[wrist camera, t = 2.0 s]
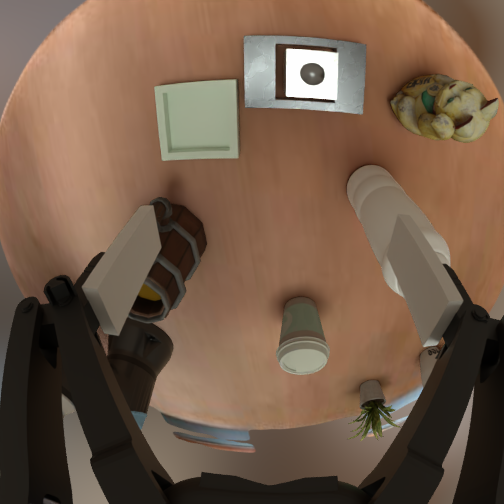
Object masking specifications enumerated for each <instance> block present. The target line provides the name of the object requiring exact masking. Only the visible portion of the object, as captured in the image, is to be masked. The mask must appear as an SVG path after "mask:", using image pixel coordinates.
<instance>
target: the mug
mask: <svg viewBox="0 0 504 504" xmlns="http://www.w3.org/2000/svg"><path fill="white" fill-rule="evenodd" d="M150 205H153V206H154V212H155V217H156V223H157V228H158V233H159V238H160V243H161V249H160V251H159V253H158V255H157V257H156V259H155V261H154V263H153V265H152V267H151V269H150V271H149V273H148V275H147V277H146V279H145V281H144V283H143V285H142V287H141V289H140V291H139V293H138V295H137V297H136V299H135V301H134V304H133V306H132V308H131V310H130V312H129V314H128V317H129V318H131V319H133V320H137V321H140V322H144V323H153V322H157V321H161V320H163V319H164V318H166V317H167V315H168V313H169V311H170V310H171V309H175V308H177V307H178V305H179V303H180V302H181V300H182V298H183V297H184V295H185V293H186V288H185V285H184V282H185V281H186V280H189V279H191V277H192V275H193V274H194V272H195V270H196V269H197V267H198V265H199V264H200V261H201V260H200V257H201V256H202V254H203V252H204V251H205V248H206V245H207V242H206V238H205V233H204V229H203V224H202V222H201V221H199V220H198V219H197V218H196V217H195V216H194V215H193V214H192V213H191V212H190V211H189V210H188V209H187V208H185V207H184V206H179V205H174V204H170V202H169V201H168V200H167V199H166V198H162V197H158V198H156V199H154V200H152V201H151V202H150Z"/></svg>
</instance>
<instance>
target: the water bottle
mask: <svg viewBox="0 0 504 504" xmlns="http://www.w3.org/2000/svg"><path fill="white" fill-rule="evenodd" d="M347 196H348V199H349V201H350V203H351V205H352V206H353V208H354V209H355V212H356V215H357V217H358V219H359V221H360V222H361V223H362V225H363V228H364V231H365V234H366V236H367V238H368V241H369V243H370V245H371V248H372V250H373V252H374V254H375V256H376V258H377V260H378V262H379V264H380V265H381V267H382V273H383V276H384V279H385V281H386V283H387V284H388V286H389V287H390V288H391V289H392V290H393V291H395V292H396V293H398V294H399V295H401V296H403V297H404V295H403V292H402V290H401V288H400V285H399V283H398V280H397V278H396V276H395V274H394V271H393V269H392V267H391V264H390V262H389V260H388V258H387V256H386V255H387V252H388V248H389V245H390V241H391V238H392V234H393V230H394V227H395V223H396V219H397V215H398V214H404V215H410V216H411V217H412V219H413V220H414V222H415V223H416V225H417V226H418V227H419V229H420V230H421V232H422V233H423V235H424V236H425V238H426V239H427V241H428V242H429V244H430V245H431V247H432V248H433V250H434V251H435V253H436V255H437V256H438V258H439V259H440V261H441V263H442V264H447V265H448V266H449V267H450V252H449V248H448V246H447V243H446V242H445V240H444V239H443V237H442V236H441V235H440V234H439V233H438V232H436V231H435V229H434V227H433V226H432V224H431V223H430V221H429V220H428V218H427V217H426V216H425V214H424V213H423V212H422V210H421V209H420V208H419V207H418V206H417V205H416V203H415V202H414V201H413V200H412V199H411V198H410V197H409V196H408V195H407V194H406V193H405V191H404V190H403V188H402V187H401V186H400V185H399V184H398V183H397V182H396V181H395V180H394V178H393V177H392V176H391V174H390V173H389V172H388V171H387V170H385V169H384V168H382V167H380V166H377V165H367V166H363V167H361V168H359V169H358V170H356V171H355V172H354V173H353V174H352V175H351V177H350V179H349V181H348V184H347ZM404 298H405V297H404Z"/></svg>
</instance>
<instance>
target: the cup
mask: <svg viewBox="0 0 504 504" xmlns="http://www.w3.org/2000/svg"><path fill="white" fill-rule="evenodd" d="M439 352H440V350H439V349H438V348H437V347H430V348H428V349H426V350H424V351H423V352H422V353H421V355H420V370H421V379H422V383H423V388H424V386H425V384H426V382H427V380H428V378H429V376H430V374H431V372H432V370H433V367H434V365H435V363H436V361H437V359H435V357H436V356H437V354H438V353H439Z"/></svg>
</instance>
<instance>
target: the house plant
mask: <svg viewBox="0 0 504 504" xmlns="http://www.w3.org/2000/svg"><path fill="white" fill-rule="evenodd" d="M385 402H386V399H385V397H384V394H383V392H382V389H381V387H380V384H379V382H378V381H377V380H369V381H366V382H364V383H363V384H361V386H360V408H361V409H362V412H361V415H362V414H364V413H366V412H367V413H366V414H365V416H364V417H363V418H361V419H360V420H358V419H359V418H360V416H361V415H360V416H359V417H358V418H357V419H356V420H355V421H354V422H359V421H362V420H363V419H364V420H365V418H366V416H367V415H368V417H367V419H366V423H365V425H364V427H363V428H361V429H362V430H361V431H360V432H359V433H358V434H357V435H356V436H358V435H359V434H360V433H361V432H362V431H363V429H364V428H365V426H366V429H365V431H364V434H363V435H362V436H363V437H362V439H361V440H363V439H364V438H365V437H366V435H367V433H368V431H369V429H370V424H371V421H372V429H373V430H372V431H373V433H374V435H375V437H376V438H377V439H378V437H377V433H378V434H379V436H381V437H382V428H381V421H380V415H381V416H382V417H383V418H384V419H385V420H386V421H387V422H388V423H389V424H391V425H393V426H396V427H399V426H397V425H395V424H394V423H393V422H391V421H393V420H391V421H390V419H389V418H387V417H386V416H385V415H384V414H383V413H382V412H381V411H380V410H379V409H378V407H379V408H380V409H381V410H382V411H383V412H384V413H385V414H387V415H388V416H389V417H391V416H390V414H389V413H388V412H392V411H395V410H394V409H390V408H391V406H390V407H385V406H383V405H384V404H385ZM365 410H367V411H365ZM387 411H388V412H387ZM379 414H380V415H379ZM391 418H392V417H391ZM354 422H352V423H354ZM363 422H364V421H363ZM363 422H362V424H363ZM394 422H395V421H394ZM362 424H361V425H360V426H359V427H358V428H357V429H356V430H358V429H359V428H360V427H361V426H362ZM366 424H367V425H366ZM356 430H355V431H356ZM376 431H377V433H376ZM356 436H354V437H356ZM354 437H352V438H354ZM349 439H351V438H349Z"/></svg>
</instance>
